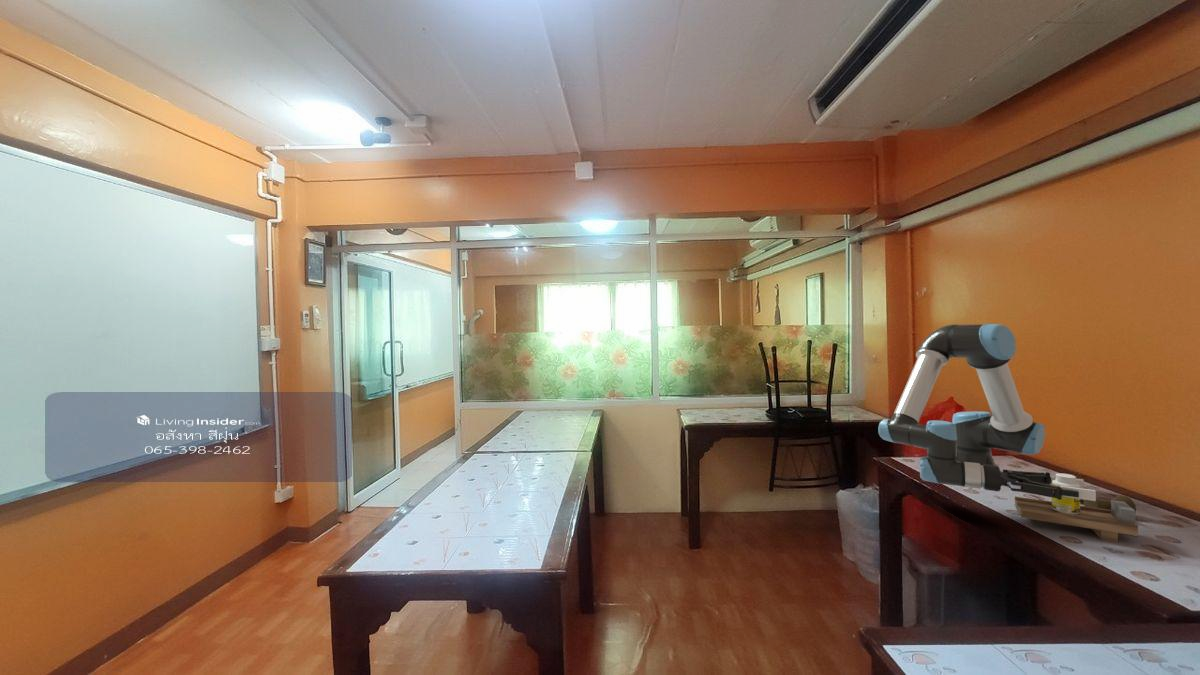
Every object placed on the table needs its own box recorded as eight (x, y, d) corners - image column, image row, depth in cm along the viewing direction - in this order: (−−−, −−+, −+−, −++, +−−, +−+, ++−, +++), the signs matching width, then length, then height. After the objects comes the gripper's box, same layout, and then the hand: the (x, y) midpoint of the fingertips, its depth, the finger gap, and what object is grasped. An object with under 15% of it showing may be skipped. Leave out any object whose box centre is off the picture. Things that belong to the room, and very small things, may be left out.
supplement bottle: (1077, 517, 122) (1077, 480, 122) (1049, 510, 127) (1049, 474, 127) (1082, 512, 125) (1082, 475, 125) (1054, 505, 130) (1054, 470, 130)
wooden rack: (1014, 513, 136) (1014, 485, 136) (1122, 530, 123) (1122, 500, 123) (1021, 526, 128) (1021, 496, 127) (1138, 545, 115) (1137, 512, 115)
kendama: (1086, 500, 146) (1151, 524, 127) (1052, 499, 148) (1111, 524, 128) (1085, 481, 146) (1149, 503, 127) (1051, 481, 148) (1109, 503, 128)
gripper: (977, 478, 145) (1076, 491, 132) (987, 500, 127) (1103, 517, 114) (977, 455, 145) (1076, 465, 132) (987, 474, 127) (1103, 488, 114)
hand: (1089, 489), depth 123 cm, fingers open, 9 cm apart
